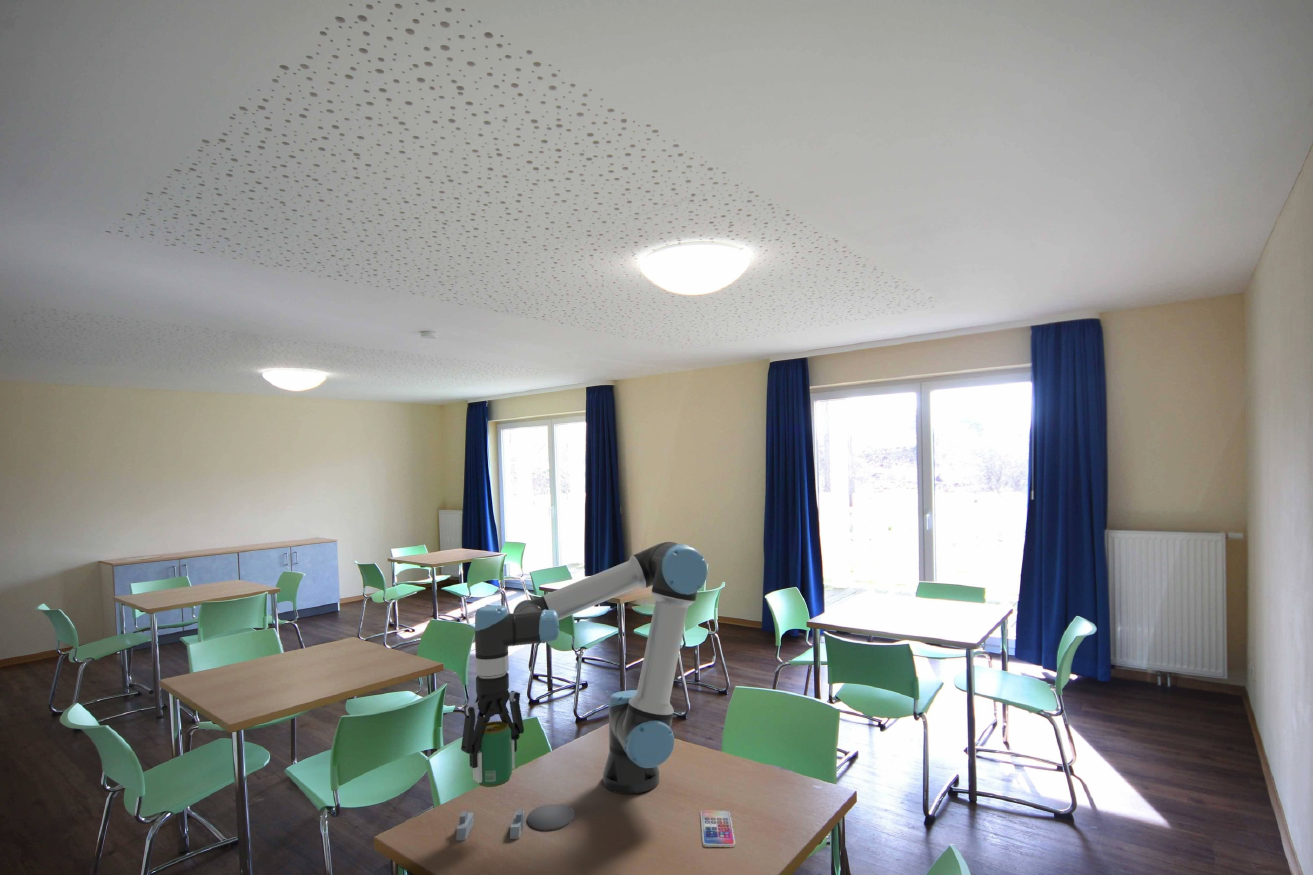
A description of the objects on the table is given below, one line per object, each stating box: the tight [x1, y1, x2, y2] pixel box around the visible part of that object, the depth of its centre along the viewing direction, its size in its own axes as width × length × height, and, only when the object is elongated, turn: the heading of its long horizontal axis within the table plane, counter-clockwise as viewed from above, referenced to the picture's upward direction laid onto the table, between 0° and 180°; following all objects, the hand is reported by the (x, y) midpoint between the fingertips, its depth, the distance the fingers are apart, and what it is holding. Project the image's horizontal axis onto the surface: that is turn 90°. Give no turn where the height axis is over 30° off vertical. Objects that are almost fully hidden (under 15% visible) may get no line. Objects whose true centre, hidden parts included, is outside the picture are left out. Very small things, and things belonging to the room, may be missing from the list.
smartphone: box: [699, 809, 736, 848], centre depth 145 cm, size 7×1×15 cm
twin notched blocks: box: [456, 808, 526, 841], centre depth 146 cm, size 14×7×4 cm, turn 92°
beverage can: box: [478, 720, 513, 788], centre depth 147 cm, size 8×8×12 cm
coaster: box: [527, 803, 575, 832], centre depth 151 cm, size 11×11×1 cm
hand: (494, 773), depth 147 cm, fingers closed on beverage can, 8 cm apart
